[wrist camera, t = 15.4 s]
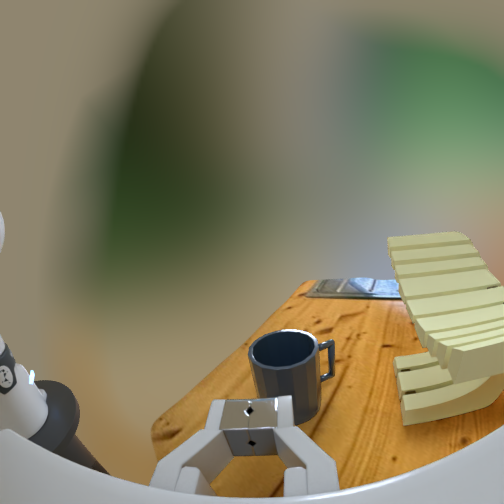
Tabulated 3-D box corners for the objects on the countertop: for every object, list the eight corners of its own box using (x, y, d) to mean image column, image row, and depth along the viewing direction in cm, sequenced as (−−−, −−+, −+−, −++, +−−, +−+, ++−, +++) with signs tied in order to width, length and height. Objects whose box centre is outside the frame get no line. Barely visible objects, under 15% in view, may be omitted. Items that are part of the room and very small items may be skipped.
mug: (273, 434, 28) (261, 378, 26) (253, 396, 36) (240, 341, 33) (350, 401, 31) (352, 342, 28) (320, 371, 38) (317, 316, 36)
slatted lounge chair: (523, 443, 11) (590, 308, 7) (407, 481, 16) (464, 351, 12) (461, 323, 38) (470, 230, 34) (386, 334, 43) (387, 237, 39)
